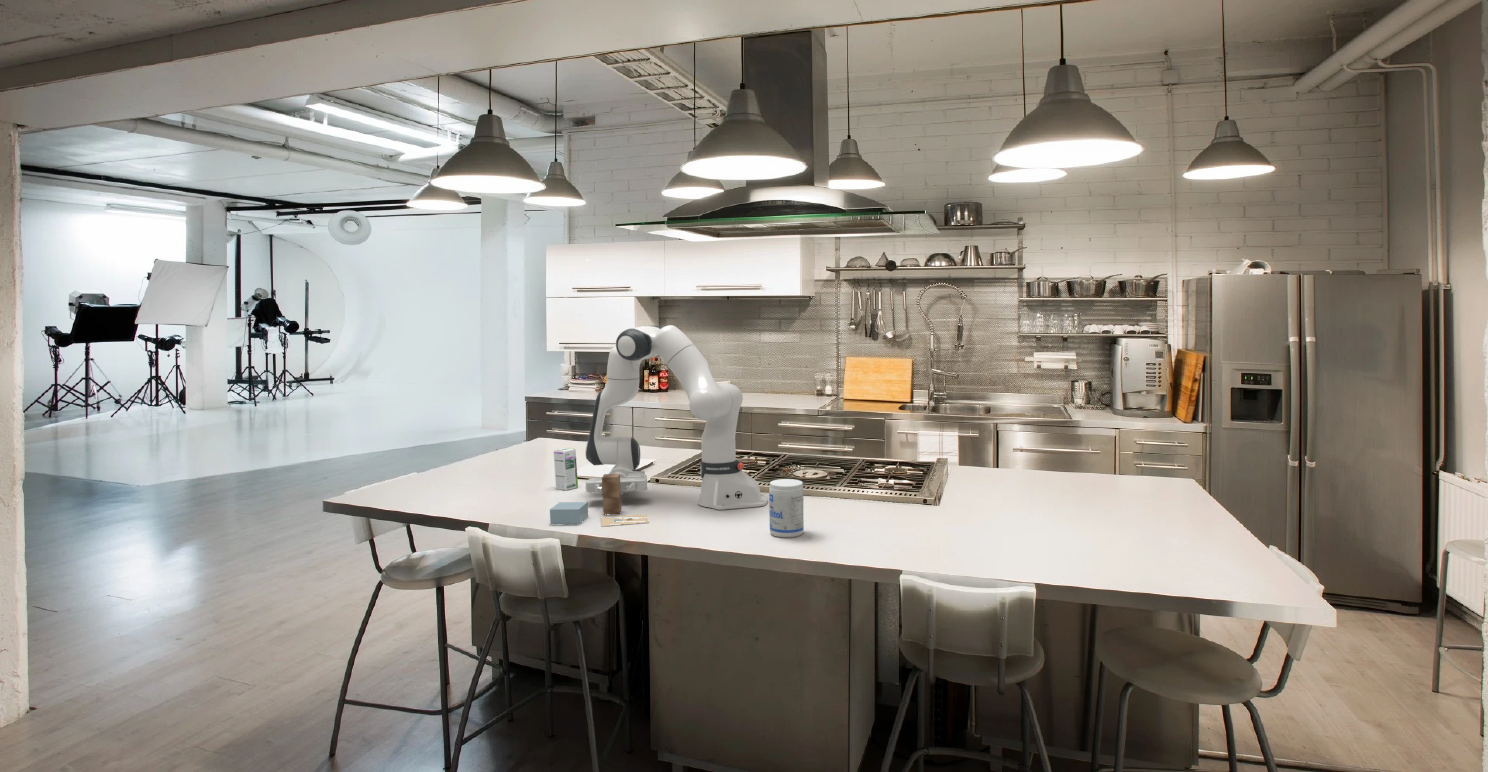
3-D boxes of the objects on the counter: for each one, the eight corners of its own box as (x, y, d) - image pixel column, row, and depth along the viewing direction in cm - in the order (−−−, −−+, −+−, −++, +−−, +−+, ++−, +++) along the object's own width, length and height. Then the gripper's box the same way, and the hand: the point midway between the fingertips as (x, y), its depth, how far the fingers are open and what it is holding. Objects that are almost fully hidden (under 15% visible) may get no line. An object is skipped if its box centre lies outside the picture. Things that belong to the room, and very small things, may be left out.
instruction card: (646, 514, 249) (646, 513, 249) (648, 522, 239) (648, 522, 239) (600, 518, 246) (600, 517, 246) (601, 526, 236) (601, 525, 236)
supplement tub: (762, 534, 223) (761, 483, 222) (783, 527, 230) (782, 477, 229) (790, 540, 217) (789, 487, 216) (811, 532, 224) (809, 481, 223)
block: (621, 510, 255) (620, 473, 254) (619, 514, 250) (617, 477, 249) (606, 511, 255) (604, 474, 254) (603, 515, 250) (601, 477, 249)
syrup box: (566, 490, 286) (564, 450, 284) (555, 488, 289) (553, 449, 288) (578, 487, 290) (576, 448, 289) (567, 485, 294) (565, 447, 292)
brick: (588, 517, 248) (587, 502, 248) (579, 525, 239) (578, 509, 239) (560, 517, 249) (559, 502, 249) (550, 525, 240) (549, 509, 240)
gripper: (588, 472, 269) (581, 481, 256) (649, 470, 270) (644, 478, 256) (589, 490, 270) (582, 500, 256) (649, 488, 270) (645, 498, 257)
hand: (613, 489), depth 256 cm, fingers open, 8 cm apart
